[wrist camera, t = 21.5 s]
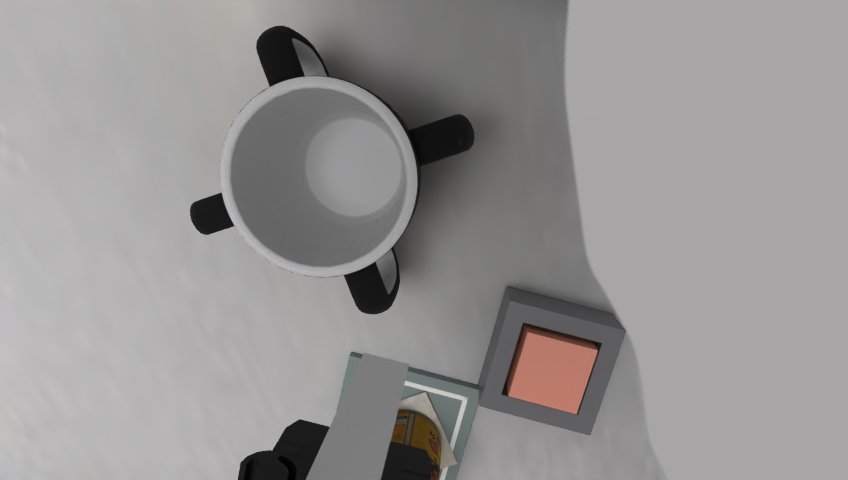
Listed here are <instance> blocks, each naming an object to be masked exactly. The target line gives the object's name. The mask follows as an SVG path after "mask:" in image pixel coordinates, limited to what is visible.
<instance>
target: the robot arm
mask: <svg viewBox="0 0 848 480" xmlns="http://www.w3.org/2000/svg"><path fill="white" fill-rule="evenodd" d="M408 367H409V364H406V363H402V362H398V361H394V360H390V359H386V358H382V357H378V356H374V355H370V354H366V353H364V354H363V356H362V358H361V361H360V363H359V365H358V367H357V369H356V371H355V374H354V376H353V378H352V380H351V382H350V384H349V387H348V389H347V391H346V393H345V395H344V398H343V400H342V402H341V404H340V406H339V408H338V411H337V413H336V415H335V417H334V419H333V421H332V424H331V426H330V427H328V426H324V425H320V424H316V423H312V422H308V421H304V420H300V419H299V420H298V421H296V422H295V423H293V424H291V425H290V426H288V427H286V429H285V430H284V432H283V434H282V435H281V437H280V439H279V441H278V442H277V444H276V445H275V447H274V448H273V451H270V450H269V451H261V452H256V453H254V454H252V455H249V456H247V457H246V458H245V459H244V460H243V461H242V462H241V464H240V470H239V476H238V480H431V479H430V478H431V471H432V462H431V459H430V457H429V455H428V453H427V451H426V450H424V449H420V448H416V447H413V446H409V445H405V444H401V443H397V442H393V441H391V438H392V433H393V429H394V425H395V421H396V417H397V413H398V408H399V404H400V400H401V396H402V392H403V388H404V383H405V379H406V375H407V371H408Z"/></svg>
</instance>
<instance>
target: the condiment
mask: <svg viewBox="0 0 848 480" xmlns="http://www.w3.org/2000/svg"><path fill="white" fill-rule="evenodd" d="M391 441H393V442H397V443H401V444H405V445H409V446H413V447H416V448H420V449H424V450H426V451H427V453H428V455H429V457H430V459H431V462H432V471H431V478H430V479H431V480H439V472H440V469H443V468H445V467H448V466H452V465H456V464H458V463H457V461H456V458H455V456H454V454H453V451H452V449H451V447H450V444H449V442H448V440H447V438H446V435H445V433H444V431H443V429H442V426H441V424H440V422H439V420H438V418H437V415H436V413H435V411H434V409H433V407H432V405H431V402H430V400H429V398H428V396H427V393H426V392H424V393H421V394H418V395H415V396H412V397H409V398H406V399H403V400H401V401H400V404H399V408H398V413H397V417H396V421H395V425H394V429H393V433H392V438H391Z"/></svg>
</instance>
